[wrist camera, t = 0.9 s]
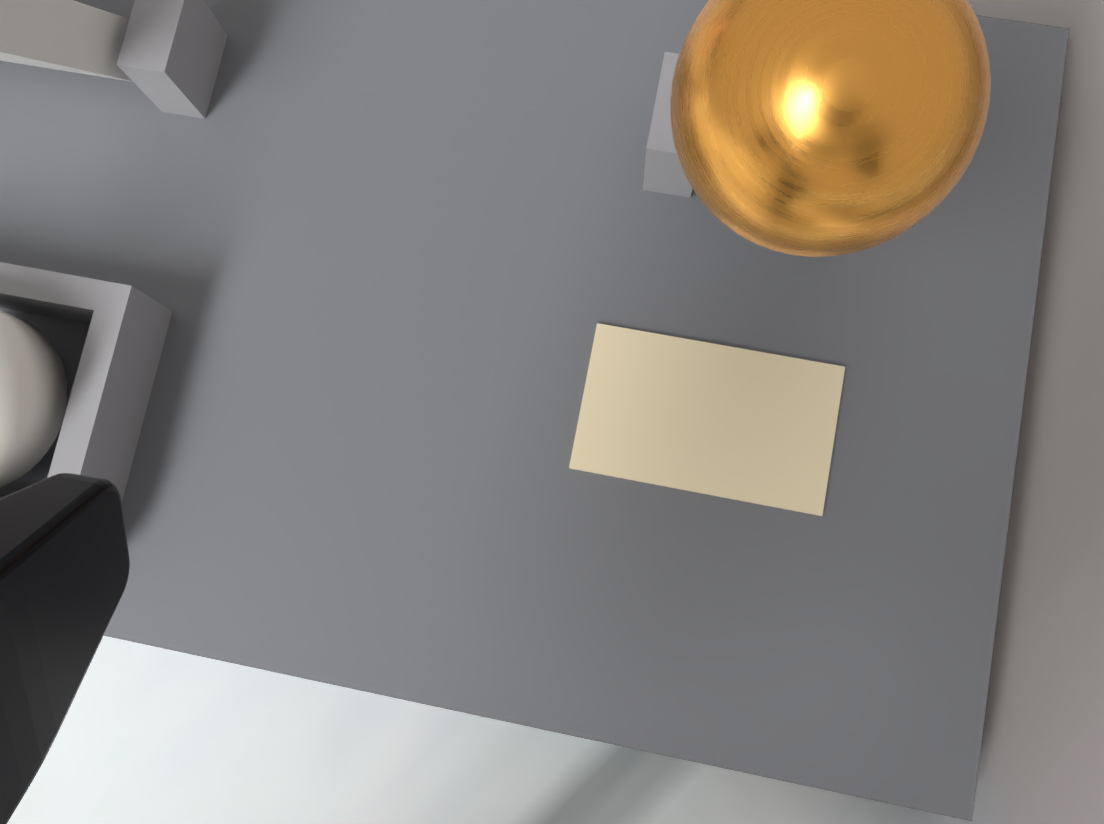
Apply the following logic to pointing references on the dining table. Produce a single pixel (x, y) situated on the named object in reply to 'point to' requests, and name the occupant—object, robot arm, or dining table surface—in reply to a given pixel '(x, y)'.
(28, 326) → the cream push button
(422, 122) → the switch panel
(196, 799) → the dining table surface
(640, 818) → the dining table surface
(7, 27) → the grey paddle
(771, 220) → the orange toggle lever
